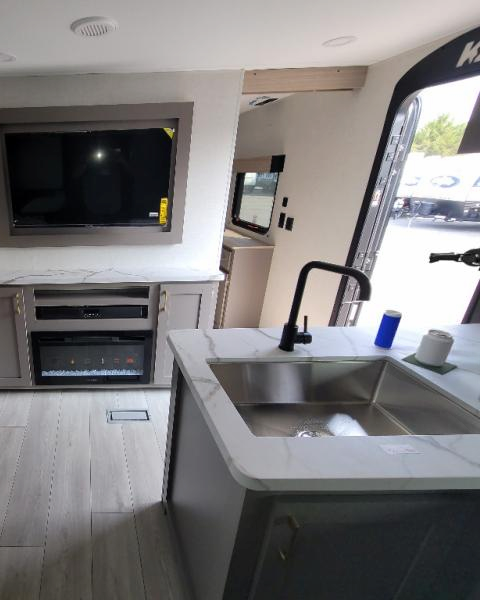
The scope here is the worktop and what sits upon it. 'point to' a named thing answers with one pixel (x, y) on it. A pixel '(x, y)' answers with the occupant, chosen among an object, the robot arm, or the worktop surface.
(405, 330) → the worktop surface
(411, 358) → the mat
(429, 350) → the can
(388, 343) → the beverage can
